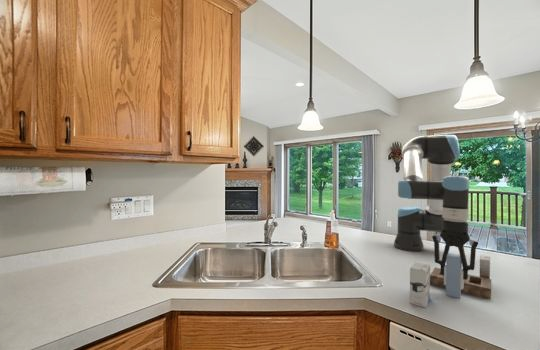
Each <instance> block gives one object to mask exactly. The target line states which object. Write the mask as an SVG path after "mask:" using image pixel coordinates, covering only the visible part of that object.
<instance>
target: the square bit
mask: <svg viewBox="0 0 540 350" xmlns="http://www.w3.org/2000/svg"><path fill="white" fill-rule="evenodd" d="M445 265H446V288H445V295H446V296H449V297H454V298H457V299H461V296H462V292H461V289H460V272H461V268H463V266H462V262H461V257H460V254H458V253H457V254H456V253H452V252H448V254H447V259H446V263H445Z"/></svg>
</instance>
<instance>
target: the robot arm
mask: <svg viewBox="0 0 540 350" xmlns="http://www.w3.org/2000/svg"><path fill="white" fill-rule="evenodd" d="M460 152H461V151H460V144H459V139H458V137H457V136H456V135H455V134H435V135H420V136H416V137H414V138H412V139H410V140H409V141H408V142H406V144H404V146H403V147H402V149H401V158H402V159H403V179H401V180H398V182H397V183H398V184H397V186H398V187H397V195H398V198H400V199H401V198H402V199H407V200H412V199H413V200H414V199H415V200H428V205H426V206H425V209H422V208H421V207H420V206H403V207H400V208H398V211H397V234H396V236H395V238H394V241H393V246H394V247H395V248H397V249H400V250H403V251H404V250H405V251H410V252H411V251H412V252H421V251H423V250H425V249H424V247H425V245H424V242H423V239H422V236H421V231H422V232H434V233H439V234H433V235H432V241H433V242H434V243H433V246H434V247H433V248H434V252H433V253H434V263H436V264H439V266H440V269H441V274H442V275H444V285H446V261H447V254H448V253H450V248H451V247H454V248H455V247H456V248H458V251H459V255H460V257H461V262H462V268H461V272H460V289H463V287H464V279H465V280H467V278H468V274H469V271H473V270H475V266H476V254H477V253H476V252H477V251H476V250H477V249H476V248H477V247H478V245H479V241H478V240H476V239H473V238H471V237H470V235H469V222H468V220H469V194H470V193H469V192H470V184H469V183H470V181H469V180H470V179H469V178H468V177H467V176H460V175H458V176H453V175H451V172H452V171H451V168H452V165H453V164H455V163H456V160H457V159H459V158H460V157H461V156H460ZM422 159H424V160H425V159H426V160H427V163H428V164H429V165H430V177H429V178H430V180H424V173H423V161H422ZM441 239H442V240H443V242H444V245H445V246H444V250H443V253H442V257H441V255H440V254H441V253H440V240H441ZM466 243H469V246H471V247H470V258H469V264H468V261H467V258H466V252H465V249H464V248H465V244H466ZM440 257H441V259H440Z"/></svg>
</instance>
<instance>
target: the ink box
mask: <svg viewBox="0 0 540 350" xmlns="http://www.w3.org/2000/svg"><path fill="white" fill-rule="evenodd" d="M430 274H431V264H428V263H424V262H418V261H414V263H413V264H412V265H411V266H410V267H409V303H410V304H412V305H416V306H419V307H422V308H427V305H428V302H429V301H430V296H431V295H430V293H431V292H430V290H431V288H430V287H431V286H430V285H431V284H430Z"/></svg>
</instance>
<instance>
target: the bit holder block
mask: <svg viewBox="0 0 540 350" xmlns="http://www.w3.org/2000/svg"><path fill="white" fill-rule="evenodd" d="M433 268H434V269H432V271H431V272H430V285H432V286H437V287H441V288H444V289H446V285H444V275H442V274H441V267H433ZM461 293H465V294H468V295H473V296H476V297H480V296H481V297H480V298H484V297H486V298H485V299H488V298H489V299H488V300H491V298H492V278H490V279H488V278H483V277H480V276H479V275H478V276H477V275H472V274H469V273H468V278H467V280H465V279H464V287H463V289H461Z"/></svg>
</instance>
